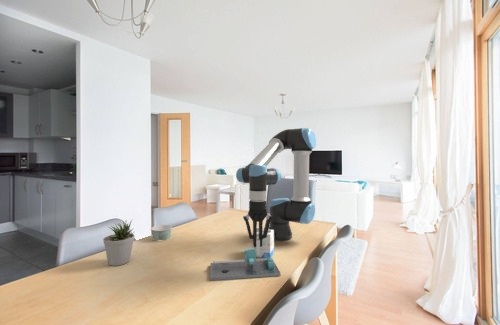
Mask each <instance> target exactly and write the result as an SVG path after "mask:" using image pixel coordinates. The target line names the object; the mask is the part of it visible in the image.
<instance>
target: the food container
mask: <svg viewBox="0 0 500 325" xmlns="http://www.w3.org/2000/svg"><path fill="white" fill-rule="evenodd" d="M172 228H173V226H172V225H169V224H160V225H154V226H152V227H151V228H150V231H151V234H152V238H153V239H154V240H153V241H155V240H164V241H167V239H168V240H170V238H171V233H172Z"/></svg>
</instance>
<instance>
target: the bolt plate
mask: <svg viewBox="0 0 500 325" xmlns="http://www.w3.org/2000/svg"><path fill="white" fill-rule="evenodd" d="M209 276H210V277H209V278H210V279H209V280H210V282H213V281H229V280H242V279H253V278H255V279H257V278H269V277H281V276H282V275H281V271H280V270H279V268H278V266H277V264H276V263H275V261H274V258H273V257H269V258H262V257H261V258H255V264H253V269H251V264H249V261H248V262H246V260H245V259H230V260H217V261H216V260H214V261H212V262H210V275H209Z"/></svg>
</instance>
